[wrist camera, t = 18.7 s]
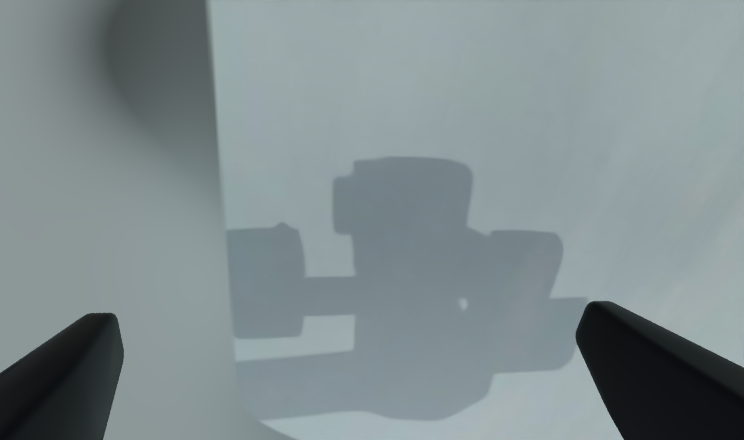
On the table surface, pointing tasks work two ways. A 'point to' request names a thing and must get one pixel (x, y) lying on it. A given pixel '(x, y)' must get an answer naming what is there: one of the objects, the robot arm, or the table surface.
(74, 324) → the robot arm
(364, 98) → the table surface
